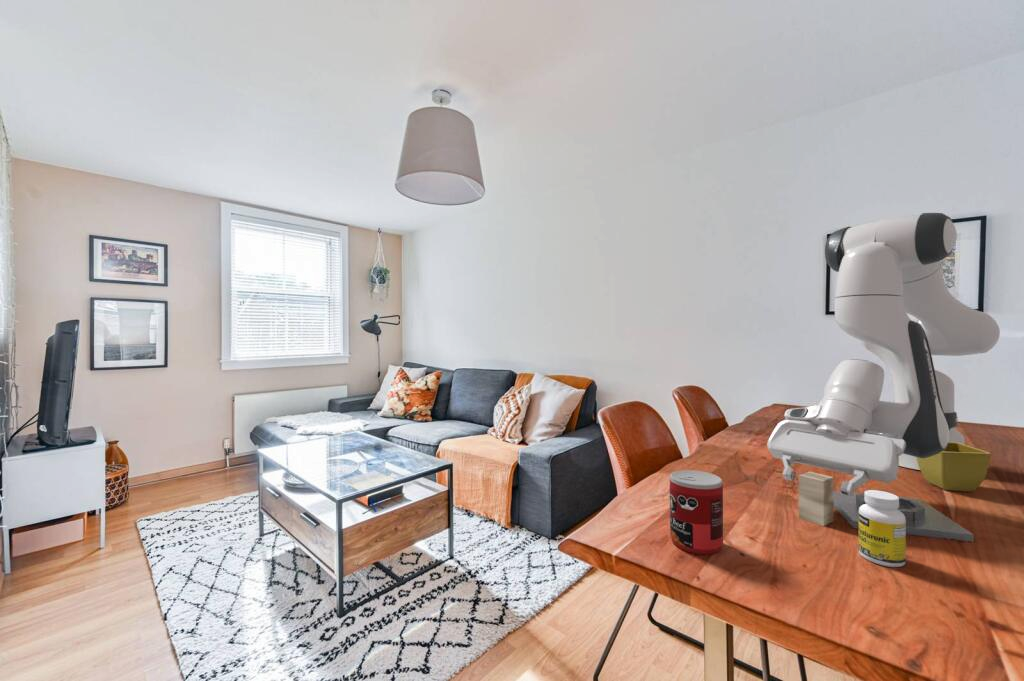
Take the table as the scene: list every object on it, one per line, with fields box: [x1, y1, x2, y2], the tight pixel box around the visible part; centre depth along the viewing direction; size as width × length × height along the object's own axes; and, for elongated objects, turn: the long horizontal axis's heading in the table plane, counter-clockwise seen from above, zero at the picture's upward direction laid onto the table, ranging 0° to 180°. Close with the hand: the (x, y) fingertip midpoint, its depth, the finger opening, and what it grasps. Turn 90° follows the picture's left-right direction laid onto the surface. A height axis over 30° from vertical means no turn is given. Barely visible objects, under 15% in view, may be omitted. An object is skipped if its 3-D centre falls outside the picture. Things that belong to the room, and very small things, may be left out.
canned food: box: [669, 469, 724, 555], centre depth 70 cm, size 8×8×11 cm
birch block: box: [798, 470, 835, 527], centre depth 79 cm, size 4×4×8 cm
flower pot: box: [917, 442, 992, 492], centre depth 94 cm, size 9×9×9 cm
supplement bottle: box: [858, 489, 907, 568], centre depth 65 cm, size 5×5×10 cm
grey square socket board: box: [834, 490, 975, 543], centre depth 80 cm, size 16×16×3 cm
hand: (815, 485), depth 79 cm, fingers open, 8 cm apart
